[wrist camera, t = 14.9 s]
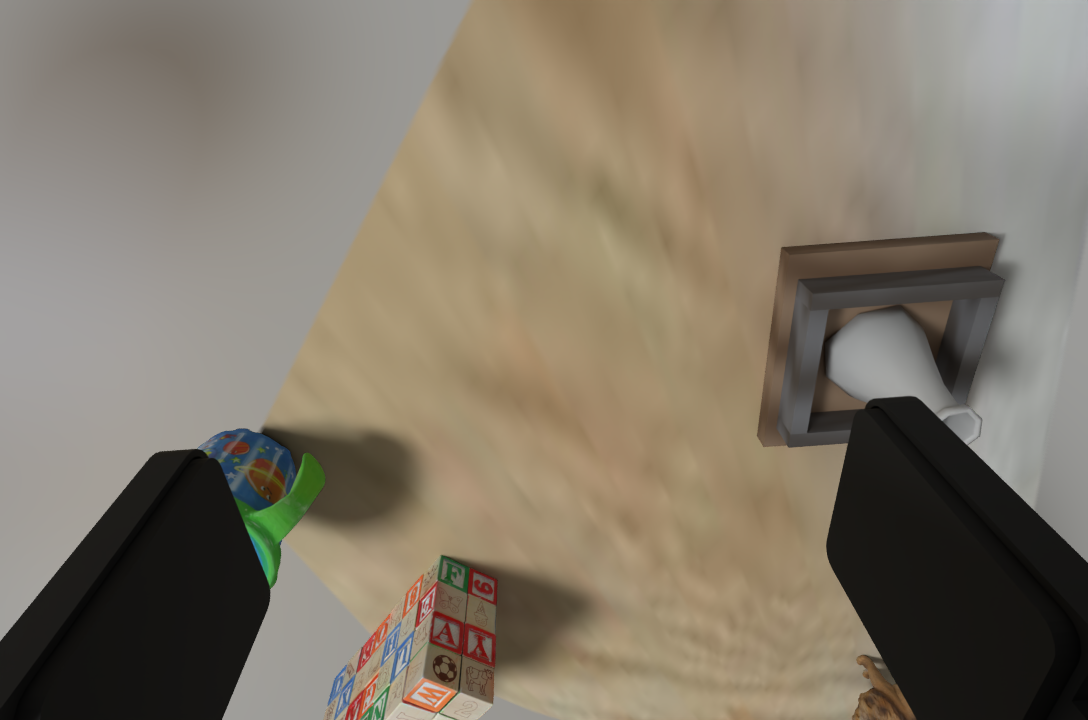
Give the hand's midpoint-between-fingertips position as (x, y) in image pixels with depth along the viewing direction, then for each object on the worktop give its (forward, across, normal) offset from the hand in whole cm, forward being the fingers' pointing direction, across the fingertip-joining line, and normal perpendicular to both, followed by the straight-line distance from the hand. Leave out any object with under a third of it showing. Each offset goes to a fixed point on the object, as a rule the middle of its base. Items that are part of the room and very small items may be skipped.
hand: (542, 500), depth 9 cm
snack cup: (+34, +24, +24) cm, 48 cm away
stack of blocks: (+34, +15, +46) cm, 59 cm away
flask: (+32, -24, +17) cm, 43 cm away
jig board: (+33, -24, +17) cm, 44 cm away
